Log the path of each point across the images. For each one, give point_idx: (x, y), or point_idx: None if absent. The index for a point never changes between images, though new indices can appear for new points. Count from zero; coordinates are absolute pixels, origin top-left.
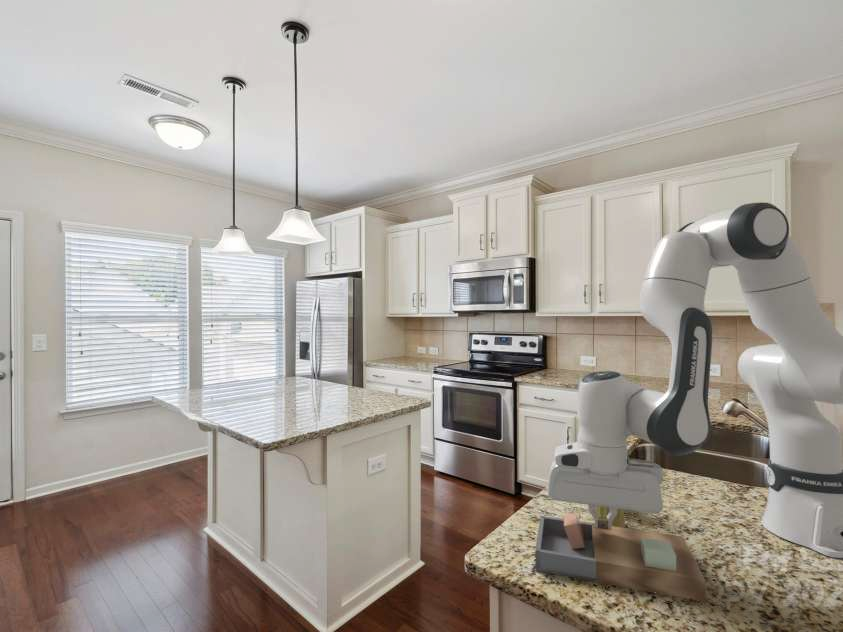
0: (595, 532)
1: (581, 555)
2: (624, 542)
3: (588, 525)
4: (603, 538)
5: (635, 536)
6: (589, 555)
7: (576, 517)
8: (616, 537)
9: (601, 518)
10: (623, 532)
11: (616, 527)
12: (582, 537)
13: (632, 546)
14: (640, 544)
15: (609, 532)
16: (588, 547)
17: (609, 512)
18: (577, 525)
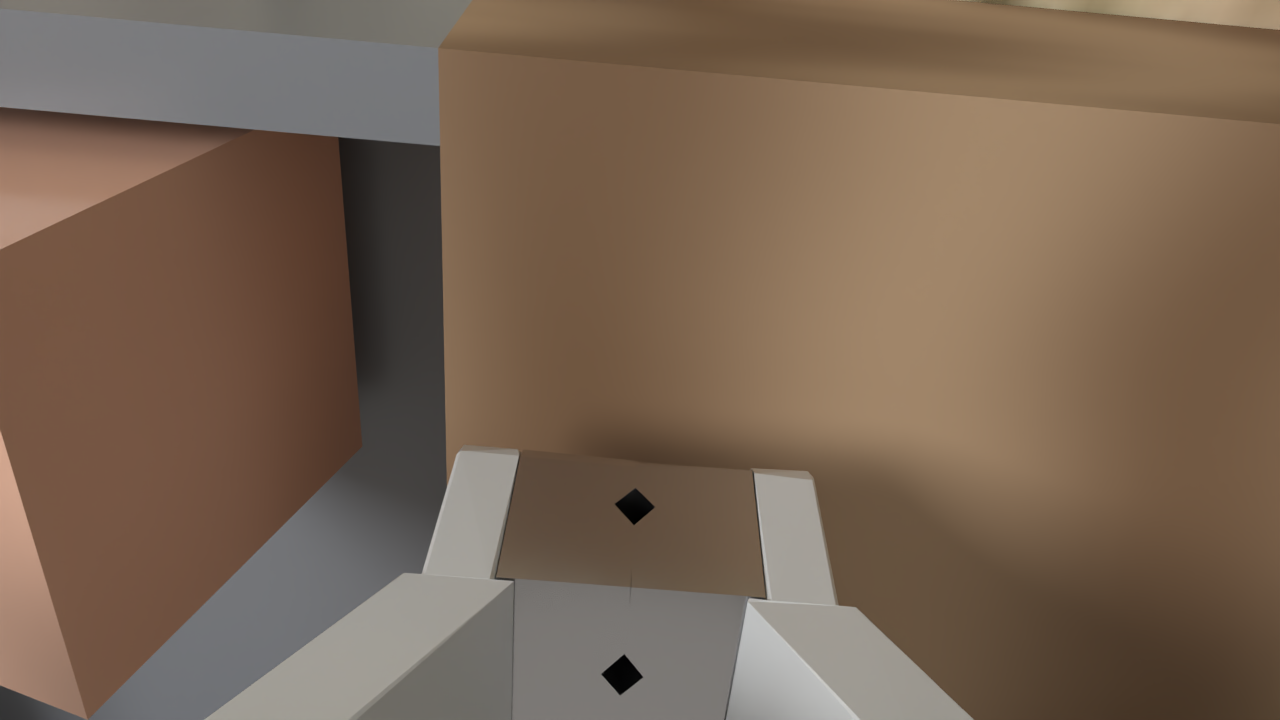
0: (500, 434)
1: (335, 507)
2: (943, 635)
3: (370, 130)
4: None
5: (1251, 437)
6: (436, 487)
7: (12, 472)
8: (859, 521)
9: (594, 685)
10: (1076, 325)
11: (1007, 139)
12: (294, 394)
13: (1025, 711)
14: (1193, 640)
15: (775, 388)
16: (427, 304)
17: (841, 703)
18: (113, 686)
